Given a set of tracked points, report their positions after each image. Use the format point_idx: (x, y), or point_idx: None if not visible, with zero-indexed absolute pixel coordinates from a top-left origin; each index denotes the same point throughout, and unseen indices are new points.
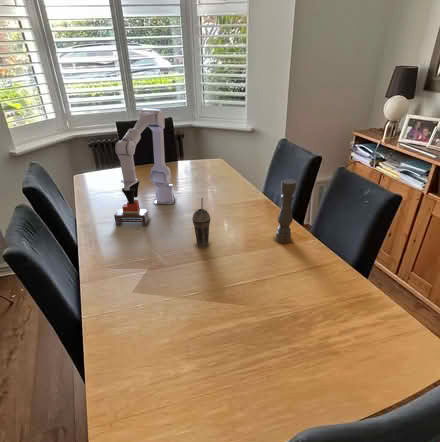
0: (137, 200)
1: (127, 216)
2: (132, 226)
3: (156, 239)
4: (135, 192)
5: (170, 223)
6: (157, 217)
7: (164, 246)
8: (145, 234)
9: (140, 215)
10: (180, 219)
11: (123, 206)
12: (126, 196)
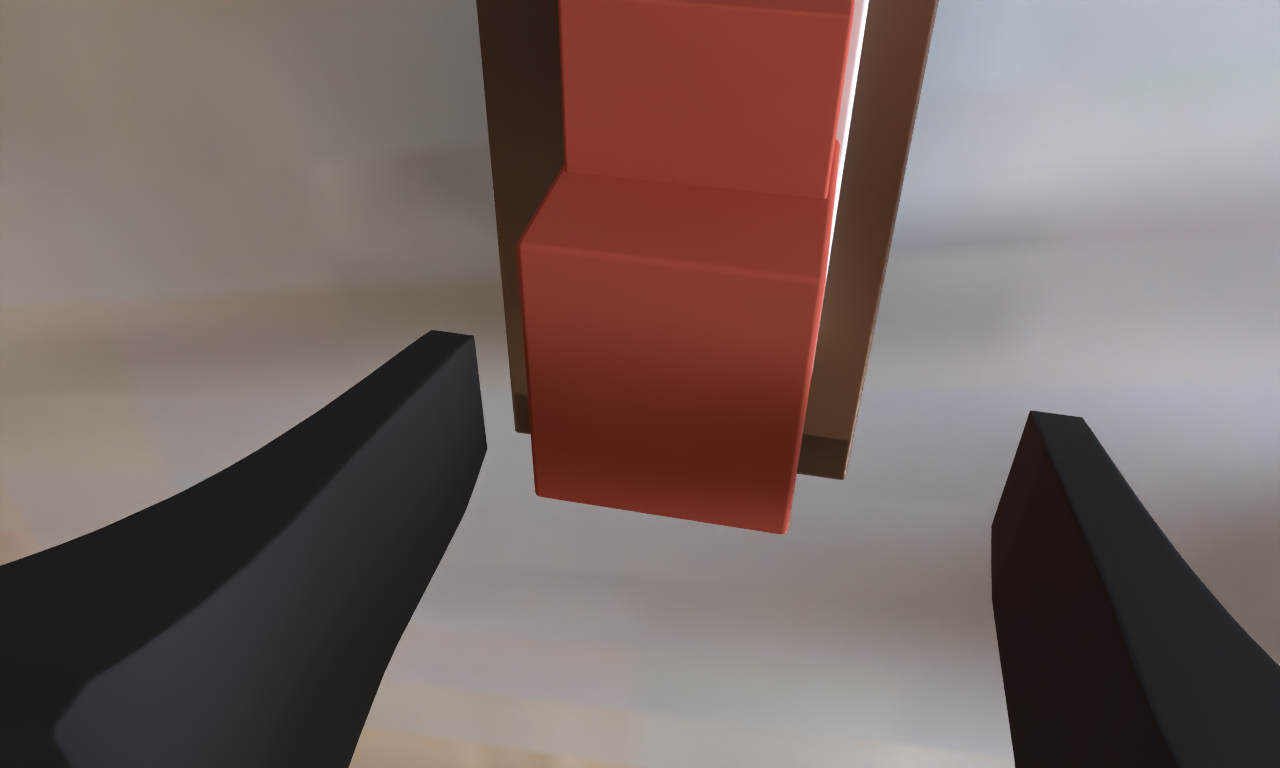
0: (734, 521)
1: (488, 61)
2: None
3: (167, 439)
4: (1024, 646)
5: (656, 599)
6: (910, 464)
7: (45, 507)
8: (262, 310)
9: (509, 362)
10: (781, 700)
11: (624, 25)
12: (221, 493)
